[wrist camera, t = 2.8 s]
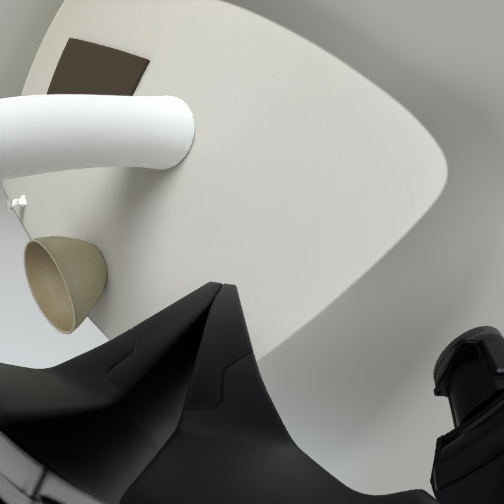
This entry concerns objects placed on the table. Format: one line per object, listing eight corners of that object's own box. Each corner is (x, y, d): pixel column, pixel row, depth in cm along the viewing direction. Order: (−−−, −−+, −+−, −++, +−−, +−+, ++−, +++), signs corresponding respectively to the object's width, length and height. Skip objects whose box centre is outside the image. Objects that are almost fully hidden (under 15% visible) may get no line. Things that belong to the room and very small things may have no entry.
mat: (150, 60, 18) (147, 59, 17) (107, 159, 22) (103, 160, 22) (71, 38, 19) (69, 37, 18) (43, 110, 23) (41, 110, 23)
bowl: (137, 297, 26) (88, 332, 20) (91, 308, 30) (51, 335, 24) (99, 206, 24) (41, 225, 18) (60, 236, 28) (15, 255, 22)
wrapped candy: (21, 199, 30) (6, 203, 27) (23, 194, 29) (8, 199, 27) (23, 207, 30) (8, 212, 28) (26, 203, 30) (10, 208, 27)
